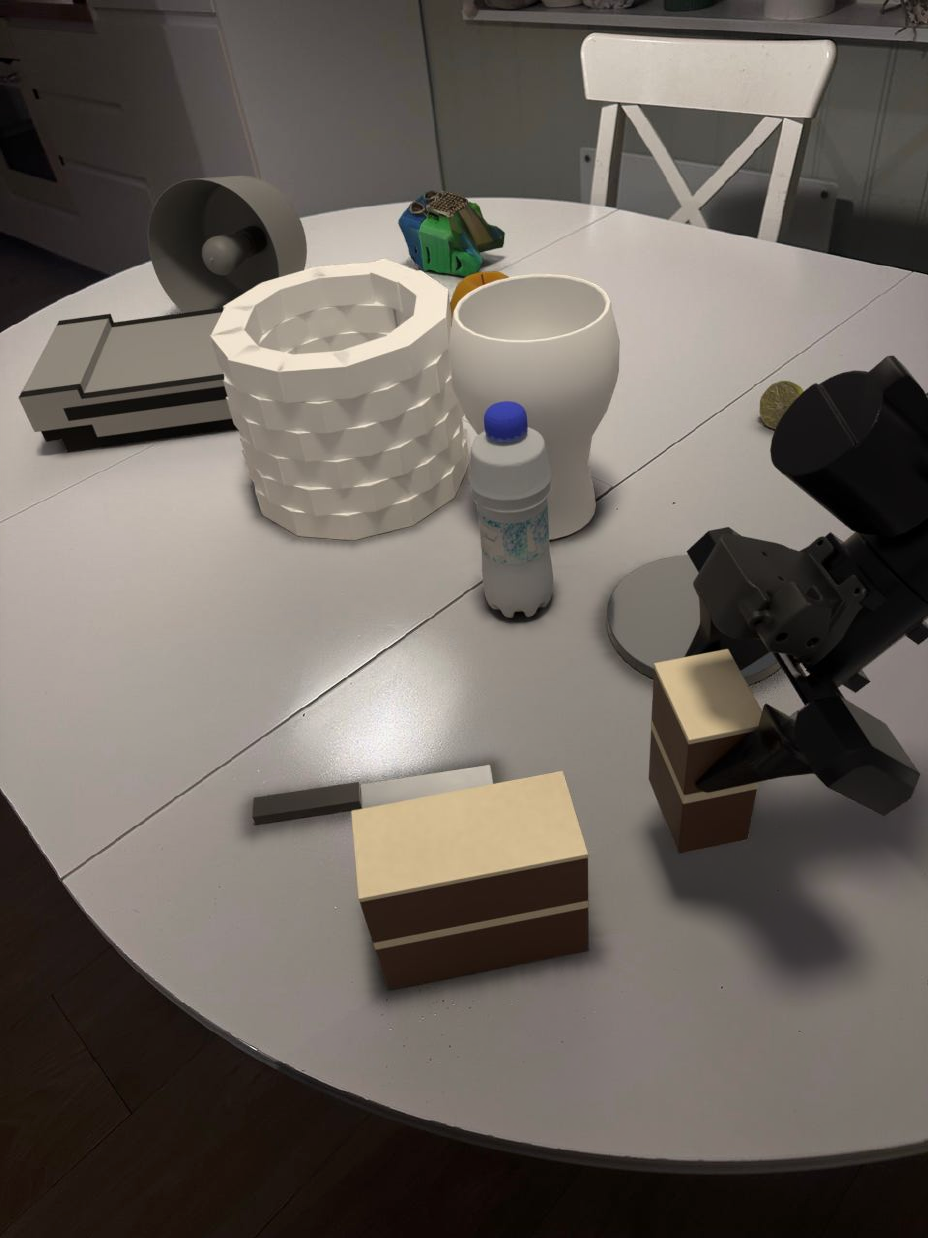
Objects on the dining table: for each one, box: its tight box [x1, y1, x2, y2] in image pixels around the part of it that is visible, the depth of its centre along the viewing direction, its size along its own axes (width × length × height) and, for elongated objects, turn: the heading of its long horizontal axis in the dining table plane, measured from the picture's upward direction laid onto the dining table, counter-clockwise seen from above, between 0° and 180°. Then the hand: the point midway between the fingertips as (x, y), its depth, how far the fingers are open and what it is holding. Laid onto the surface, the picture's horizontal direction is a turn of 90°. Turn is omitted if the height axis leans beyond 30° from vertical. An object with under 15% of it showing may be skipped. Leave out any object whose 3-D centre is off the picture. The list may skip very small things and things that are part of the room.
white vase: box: [449, 273, 621, 541], centre depth 87 cm, size 15×15×22 cm
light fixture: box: [147, 175, 308, 313], centre depth 137 cm, size 20×25×27 cm
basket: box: [210, 258, 470, 541], centre depth 96 cm, size 25×24×19 cm
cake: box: [350, 770, 590, 991], centre depth 57 cm, size 13×6×11 cm, turn 99°
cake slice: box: [648, 649, 763, 855], centre depth 55 cm, size 4×6×11 cm
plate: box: [606, 554, 782, 686], centre depth 79 cm, size 16×16×1 cm
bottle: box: [468, 401, 554, 618], centre depth 77 cm, size 7×7×20 cm
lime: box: [759, 380, 805, 430], centre depth 100 cm, size 4×5×5 cm
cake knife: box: [251, 764, 495, 825], centre depth 69 cm, size 18×2×1 cm, turn 96°
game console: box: [18, 308, 238, 453], centre depth 116 cm, size 21×32×8 cm, turn 96°
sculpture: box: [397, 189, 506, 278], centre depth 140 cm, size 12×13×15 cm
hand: (681, 746), depth 55 cm, fingers closed on cake slice, 6 cm apart
